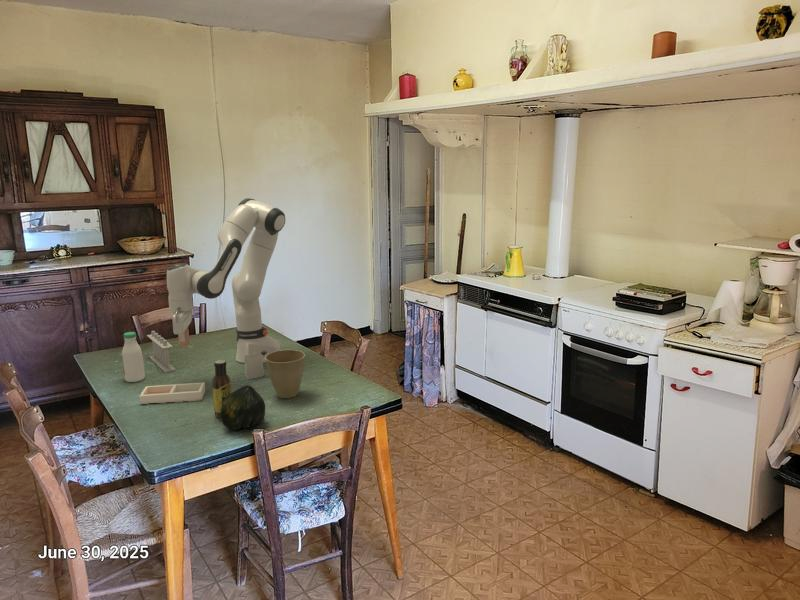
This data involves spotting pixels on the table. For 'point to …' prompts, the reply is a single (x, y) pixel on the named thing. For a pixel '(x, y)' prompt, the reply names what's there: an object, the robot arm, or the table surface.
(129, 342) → the milk bottle
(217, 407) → the sauce bottle
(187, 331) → the brown egg
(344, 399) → the table surface
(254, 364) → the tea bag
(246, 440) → the table surface
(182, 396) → the sorting tray
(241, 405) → the squash
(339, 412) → the table surface
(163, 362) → the test tube rack
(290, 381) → the plant pot
